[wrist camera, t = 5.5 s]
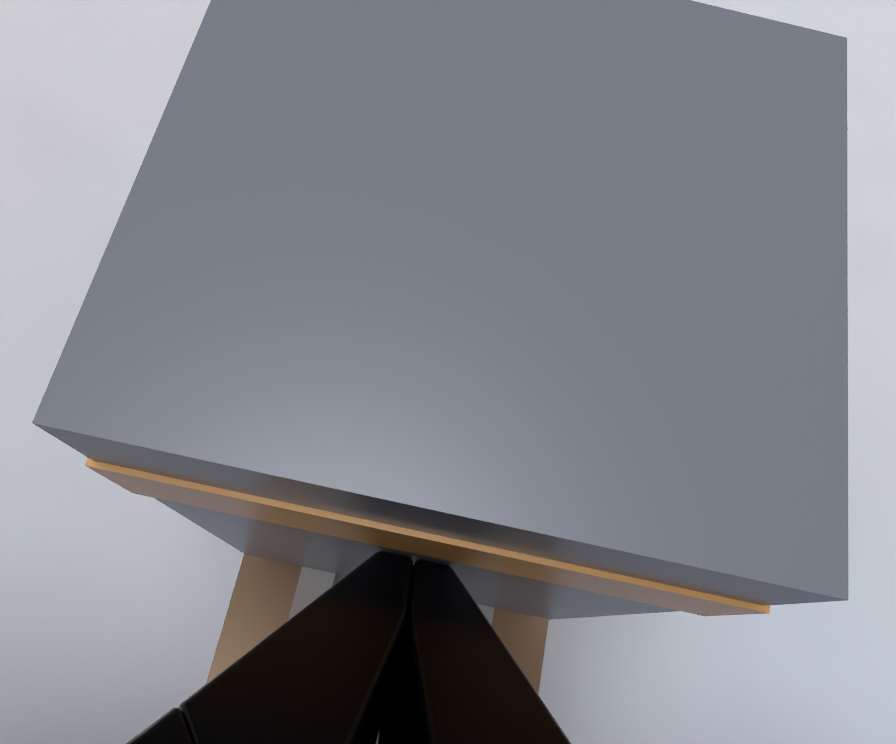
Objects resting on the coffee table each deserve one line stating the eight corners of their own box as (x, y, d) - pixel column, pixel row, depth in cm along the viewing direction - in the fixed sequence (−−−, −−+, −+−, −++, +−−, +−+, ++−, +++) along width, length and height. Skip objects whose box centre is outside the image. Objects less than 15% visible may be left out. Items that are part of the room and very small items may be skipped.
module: (552, 622, 13) (856, 609, 5) (242, 556, 13) (21, 429, 5) (588, 361, 15) (853, 34, 7) (317, 300, 14) (251, -110, 6)
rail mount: (443, 1254, 12) (502, 1768, 6) (74, 1184, 11) (-178, 1655, 6) (582, 298, 18) (670, 159, 12) (344, 245, 18) (332, 80, 12)
